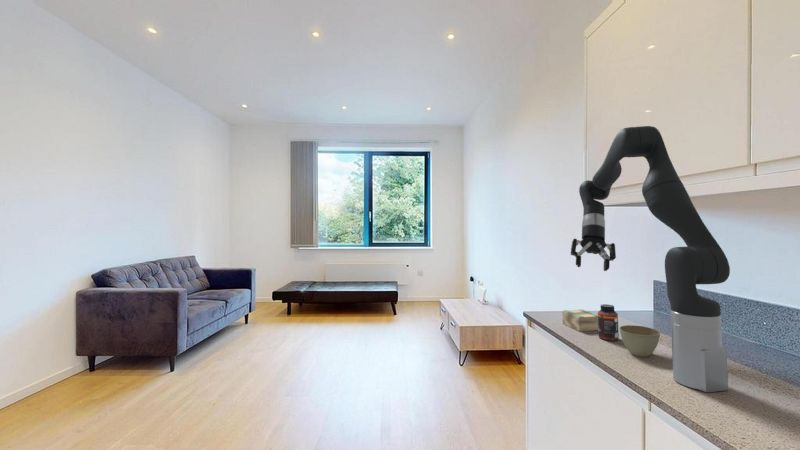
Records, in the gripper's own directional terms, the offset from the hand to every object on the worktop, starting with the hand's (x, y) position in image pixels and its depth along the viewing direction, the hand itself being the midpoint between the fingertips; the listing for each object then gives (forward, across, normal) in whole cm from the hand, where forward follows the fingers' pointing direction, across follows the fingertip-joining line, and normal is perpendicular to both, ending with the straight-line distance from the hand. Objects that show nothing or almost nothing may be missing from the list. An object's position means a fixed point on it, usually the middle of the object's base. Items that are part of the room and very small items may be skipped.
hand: (592, 268), depth 122 cm
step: (+18, +1, +16) cm, 24 cm away
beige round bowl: (+28, +12, -8) cm, 31 cm away
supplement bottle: (+23, +7, +4) cm, 24 cm away
